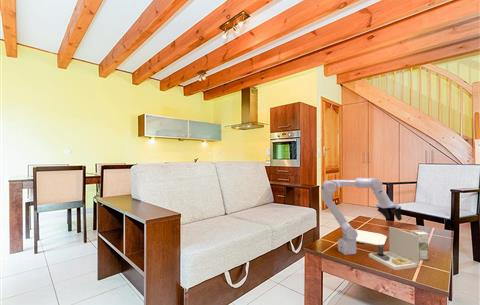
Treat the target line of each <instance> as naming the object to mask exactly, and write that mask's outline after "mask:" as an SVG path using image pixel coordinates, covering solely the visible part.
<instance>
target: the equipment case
mask: <svg viewBox="0 0 480 305" xmlns="http://www.w3.org/2000/svg"><path fill="white" fill-rule="evenodd" d="M388 234H389V235H388V236H389V238H388V241H389V247H388V248H389V249H388V250H389V251H383V257H380V256H378V252H373V253H372V252H371V253H368V257H369V258H371V259H373V260H374V261H376V262H378V263H380V264H382V265H384V266H386V267H388V268H389V269H391V270H394V271H400V270H407V269H414V268H418V265H419V264H420V259H419V236H418V235H415V234H412V233H411V232H408V231H406V230H404V229H400V228H397V227H393V226H389V227H388Z"/></svg>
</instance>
